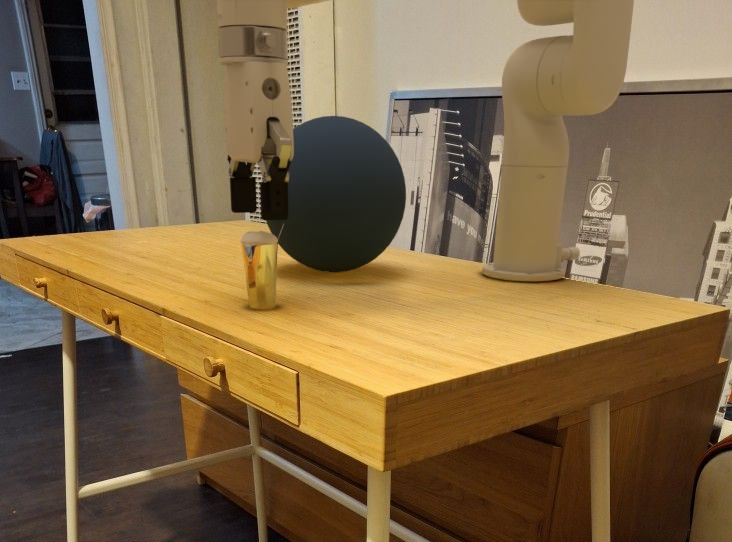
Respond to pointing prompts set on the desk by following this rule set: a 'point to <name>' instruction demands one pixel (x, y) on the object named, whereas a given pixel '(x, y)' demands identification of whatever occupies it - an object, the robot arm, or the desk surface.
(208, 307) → the desk surface
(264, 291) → the milkshake
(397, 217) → the ball
